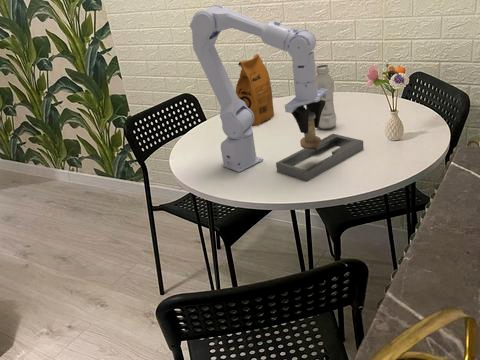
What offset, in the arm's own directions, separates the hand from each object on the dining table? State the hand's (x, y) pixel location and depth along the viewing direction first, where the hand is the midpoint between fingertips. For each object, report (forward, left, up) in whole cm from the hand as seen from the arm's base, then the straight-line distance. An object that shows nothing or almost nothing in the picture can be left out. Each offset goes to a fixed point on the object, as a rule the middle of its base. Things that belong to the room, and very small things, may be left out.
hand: (309, 129), depth 136 cm
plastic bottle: (+24, +15, -11) cm, 30 cm away
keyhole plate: (+5, 0, -10) cm, 11 cm away
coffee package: (+18, +42, -11) cm, 47 cm away
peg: (+1, +1, -4) cm, 5 cm away
